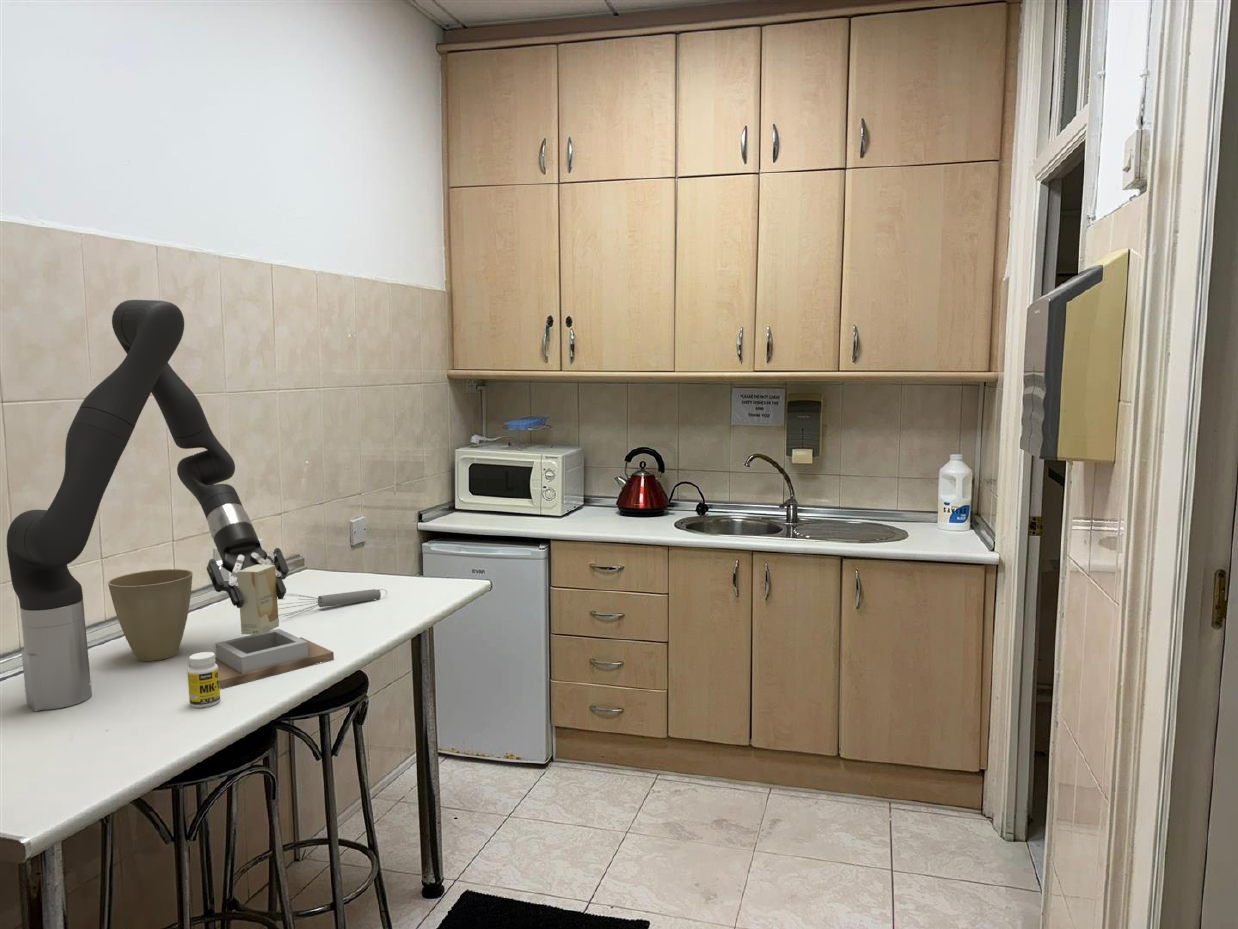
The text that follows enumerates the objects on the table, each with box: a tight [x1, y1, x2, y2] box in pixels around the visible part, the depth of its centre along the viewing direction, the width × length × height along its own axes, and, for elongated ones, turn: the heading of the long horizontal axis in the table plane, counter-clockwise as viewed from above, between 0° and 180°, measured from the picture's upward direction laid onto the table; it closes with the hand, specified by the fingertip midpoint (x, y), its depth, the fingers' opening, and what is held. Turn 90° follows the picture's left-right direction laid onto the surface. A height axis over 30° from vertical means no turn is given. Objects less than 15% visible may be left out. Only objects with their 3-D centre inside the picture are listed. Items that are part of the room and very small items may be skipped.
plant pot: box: [107, 568, 194, 662], centre depth 182 cm, size 15×15×16 cm
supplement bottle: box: [187, 651, 221, 709], centre depth 156 cm, size 5×5×8 cm
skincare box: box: [237, 564, 280, 636], centre depth 174 cm, size 6×4×12 cm
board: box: [188, 636, 335, 690], centre depth 175 cm, size 22×14×2 cm, turn 134°
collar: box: [214, 628, 308, 674], centre depth 175 cm, size 12×12×3 cm
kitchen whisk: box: [277, 588, 388, 619], centre depth 213 cm, size 6×34×6 cm, turn 130°
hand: (261, 601), depth 173 cm, fingers closed on skincare box, 7 cm apart
